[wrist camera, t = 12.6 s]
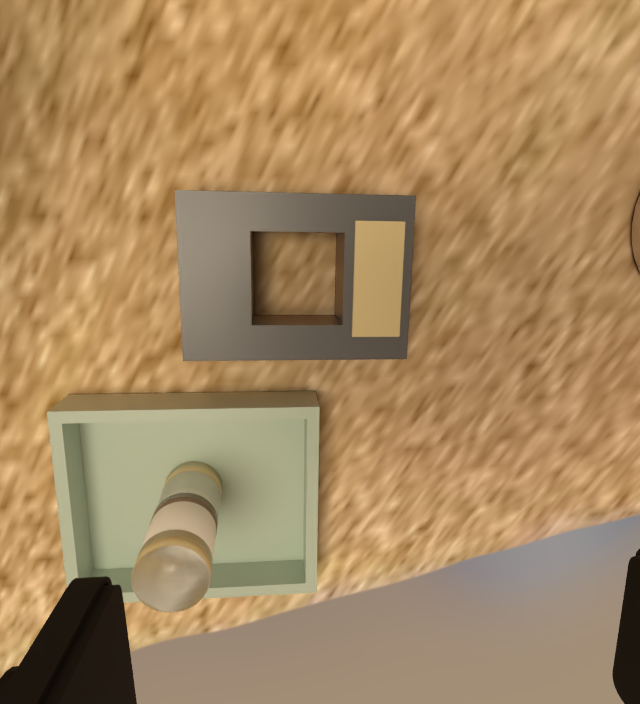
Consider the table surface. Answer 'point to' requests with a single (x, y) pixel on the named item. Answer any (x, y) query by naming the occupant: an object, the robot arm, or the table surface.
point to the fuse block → (294, 330)
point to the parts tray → (180, 447)
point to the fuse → (180, 540)
